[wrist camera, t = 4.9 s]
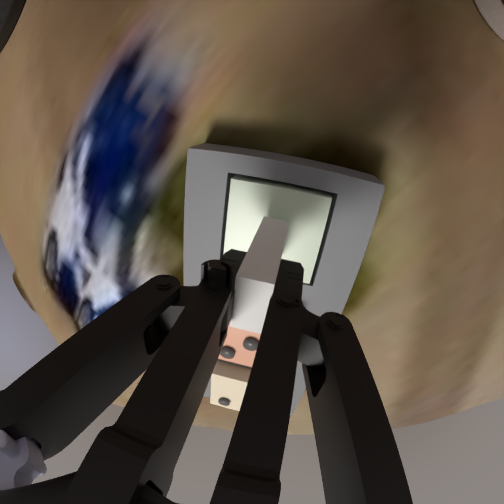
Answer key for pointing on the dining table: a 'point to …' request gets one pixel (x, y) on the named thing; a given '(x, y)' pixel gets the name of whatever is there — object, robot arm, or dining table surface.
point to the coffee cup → (493, 14)
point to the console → (295, 172)
